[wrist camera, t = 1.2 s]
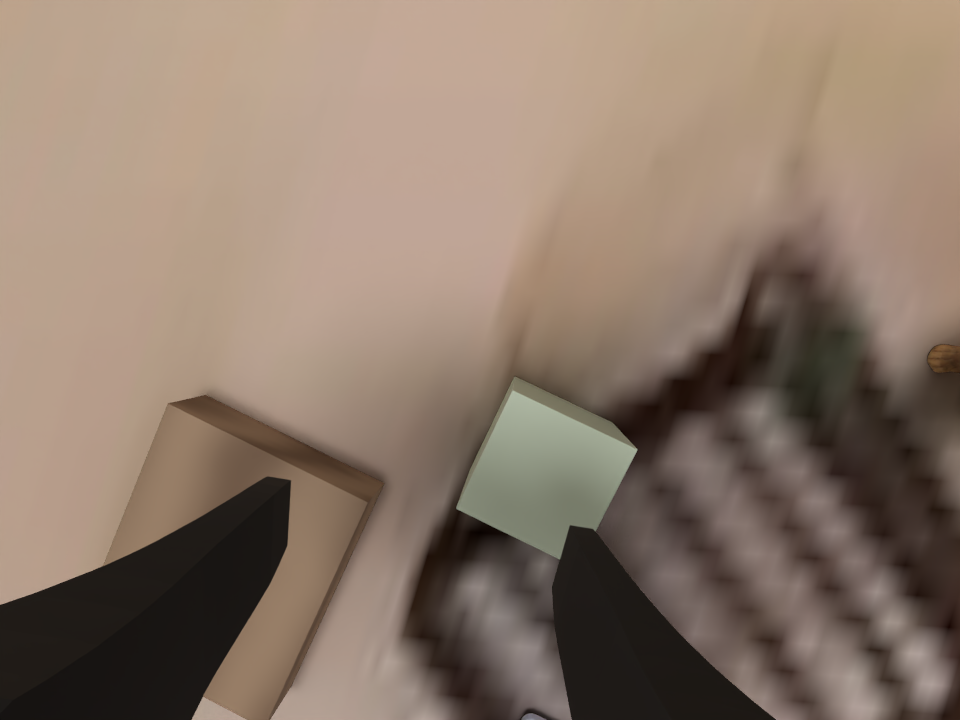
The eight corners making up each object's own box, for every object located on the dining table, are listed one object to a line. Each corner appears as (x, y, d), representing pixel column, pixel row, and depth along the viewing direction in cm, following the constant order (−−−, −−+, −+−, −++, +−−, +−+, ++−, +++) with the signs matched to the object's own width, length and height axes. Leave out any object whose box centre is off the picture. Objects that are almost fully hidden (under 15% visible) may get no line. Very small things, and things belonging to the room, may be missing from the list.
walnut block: (386, 480, 24) (367, 502, 21) (294, 680, 25) (264, 728, 22) (211, 393, 24) (168, 403, 21) (129, 594, 25) (77, 630, 22)
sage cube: (611, 421, 22) (637, 449, 17) (564, 514, 23) (576, 567, 18) (514, 375, 22) (512, 390, 17) (470, 468, 23) (455, 508, 18)
